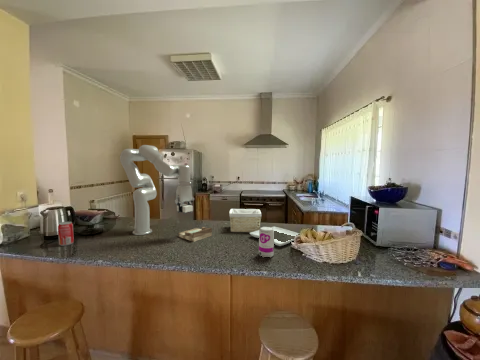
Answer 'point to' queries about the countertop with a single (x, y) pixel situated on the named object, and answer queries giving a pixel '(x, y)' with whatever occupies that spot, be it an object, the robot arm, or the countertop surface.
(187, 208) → the cream rod-topped slab
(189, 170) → the robot arm
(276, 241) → the square plate
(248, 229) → the storage basket
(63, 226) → the soda can
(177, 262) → the countertop surface
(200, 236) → the dock
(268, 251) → the supplement can
